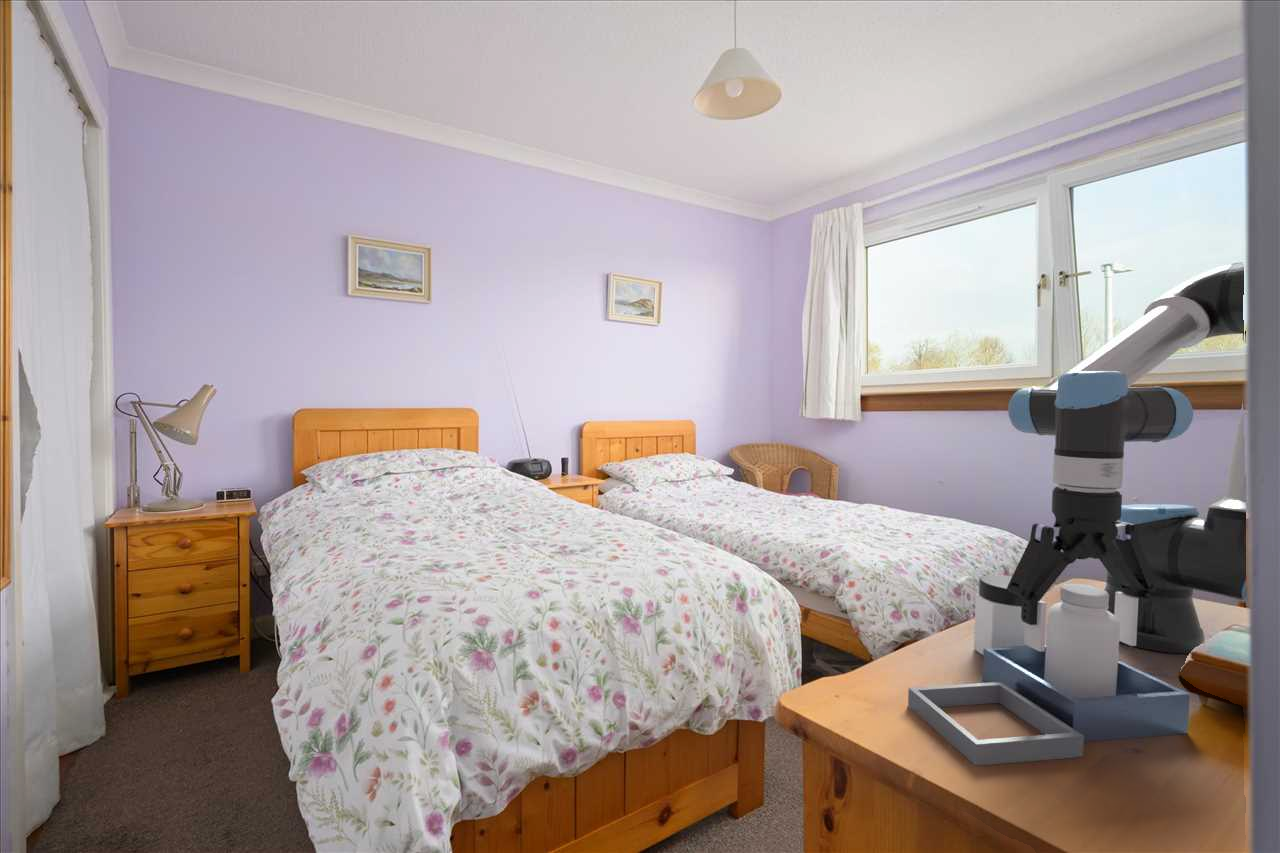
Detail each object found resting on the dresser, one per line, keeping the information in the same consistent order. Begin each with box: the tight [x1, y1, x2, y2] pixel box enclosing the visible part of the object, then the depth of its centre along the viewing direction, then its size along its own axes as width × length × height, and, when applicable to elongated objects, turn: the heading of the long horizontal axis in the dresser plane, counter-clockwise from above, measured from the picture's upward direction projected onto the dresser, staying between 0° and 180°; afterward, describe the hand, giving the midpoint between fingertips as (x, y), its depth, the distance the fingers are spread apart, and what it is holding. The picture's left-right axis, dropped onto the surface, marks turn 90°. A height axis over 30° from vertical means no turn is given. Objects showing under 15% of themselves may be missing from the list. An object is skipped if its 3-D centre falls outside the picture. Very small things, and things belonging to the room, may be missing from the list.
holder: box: [907, 682, 1085, 767], centre depth 78 cm, size 14×14×2 cm
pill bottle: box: [1044, 583, 1120, 699], centre depth 84 cm, size 8×8×15 cm
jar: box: [973, 574, 1034, 656], centre depth 100 cm, size 9×8×12 cm
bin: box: [981, 644, 1191, 743], centre depth 84 cm, size 16×16×5 cm
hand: (1079, 644), depth 84 cm, fingers open, 13 cm apart
